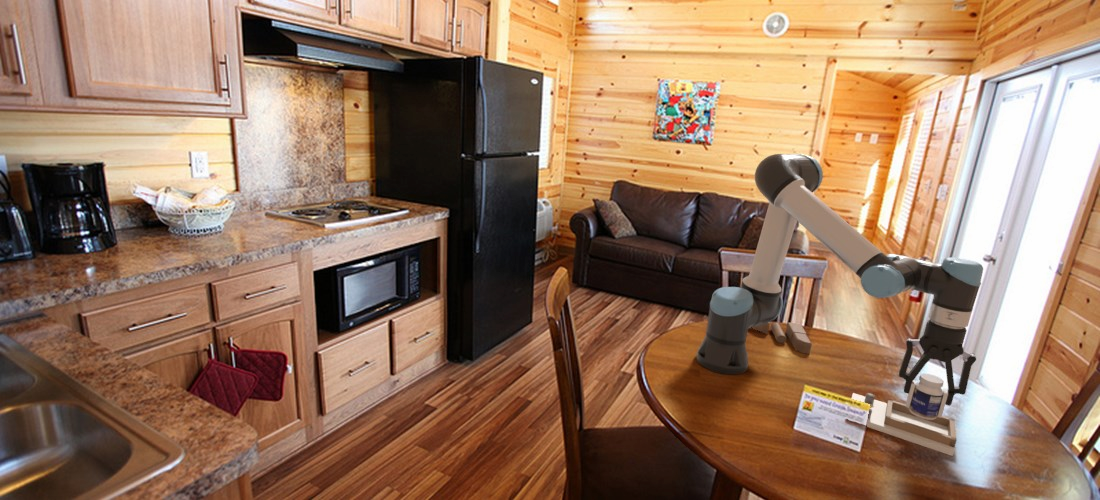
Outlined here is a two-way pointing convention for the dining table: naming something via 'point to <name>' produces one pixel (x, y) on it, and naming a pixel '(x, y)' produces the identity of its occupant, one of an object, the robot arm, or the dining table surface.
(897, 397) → the dining table surface
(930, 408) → the pill bottle
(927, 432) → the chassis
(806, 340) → the wooden block set
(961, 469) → the dining table surface
